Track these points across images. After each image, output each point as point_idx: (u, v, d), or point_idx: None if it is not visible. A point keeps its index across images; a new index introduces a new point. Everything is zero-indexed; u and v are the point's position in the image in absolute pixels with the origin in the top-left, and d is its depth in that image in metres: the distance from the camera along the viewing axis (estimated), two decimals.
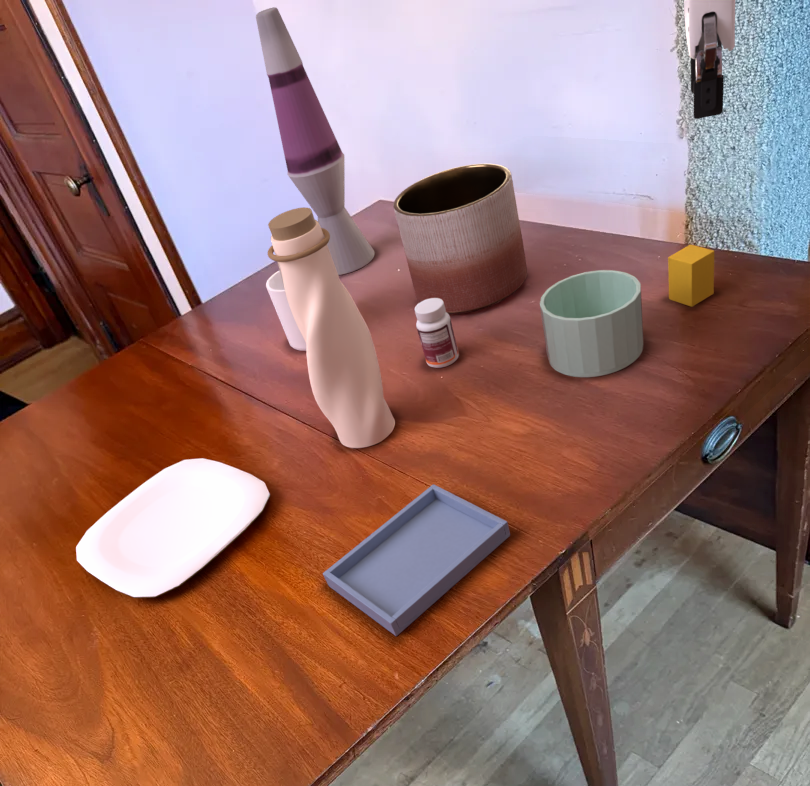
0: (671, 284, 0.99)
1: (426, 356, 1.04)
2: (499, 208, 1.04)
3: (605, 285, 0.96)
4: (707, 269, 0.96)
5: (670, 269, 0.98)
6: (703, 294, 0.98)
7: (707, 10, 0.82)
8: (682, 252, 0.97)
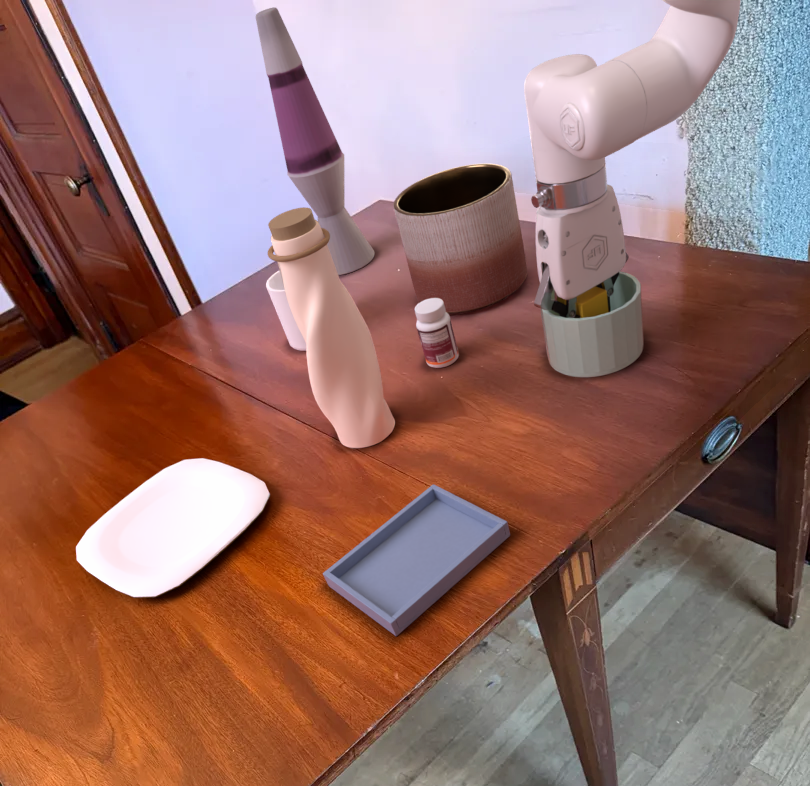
0: None
1: (426, 356, 1.04)
2: (499, 208, 1.04)
3: None
4: (600, 309, 0.92)
5: None
6: None
7: (543, 260, 0.86)
8: None
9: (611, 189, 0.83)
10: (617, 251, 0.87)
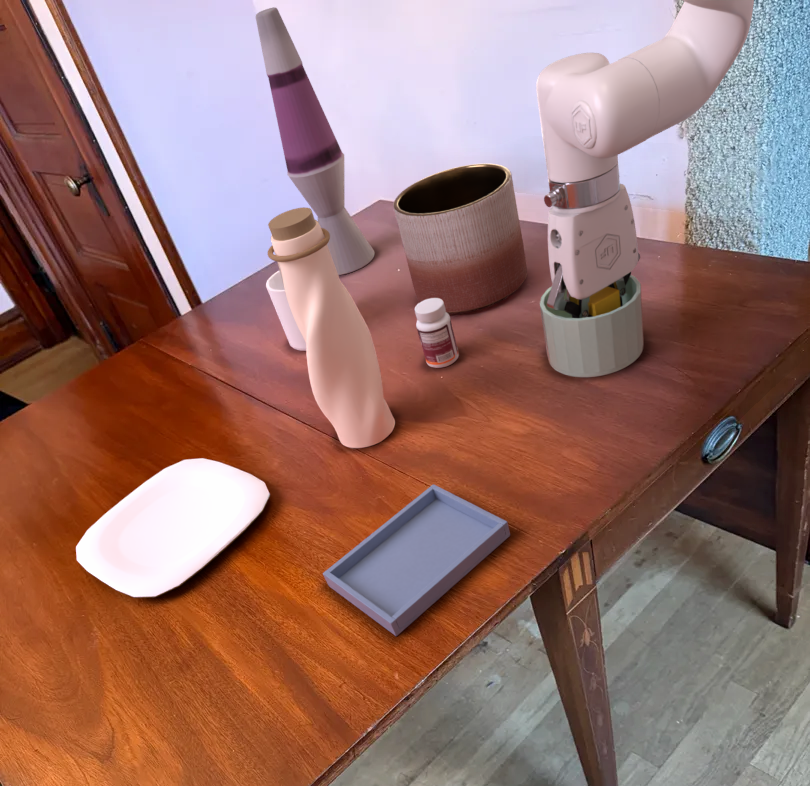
0: None
1: (426, 356, 1.04)
2: (499, 208, 1.04)
3: None
4: (613, 309, 0.91)
5: None
6: None
7: (556, 260, 0.86)
8: None
9: (623, 188, 0.83)
10: (630, 250, 0.87)
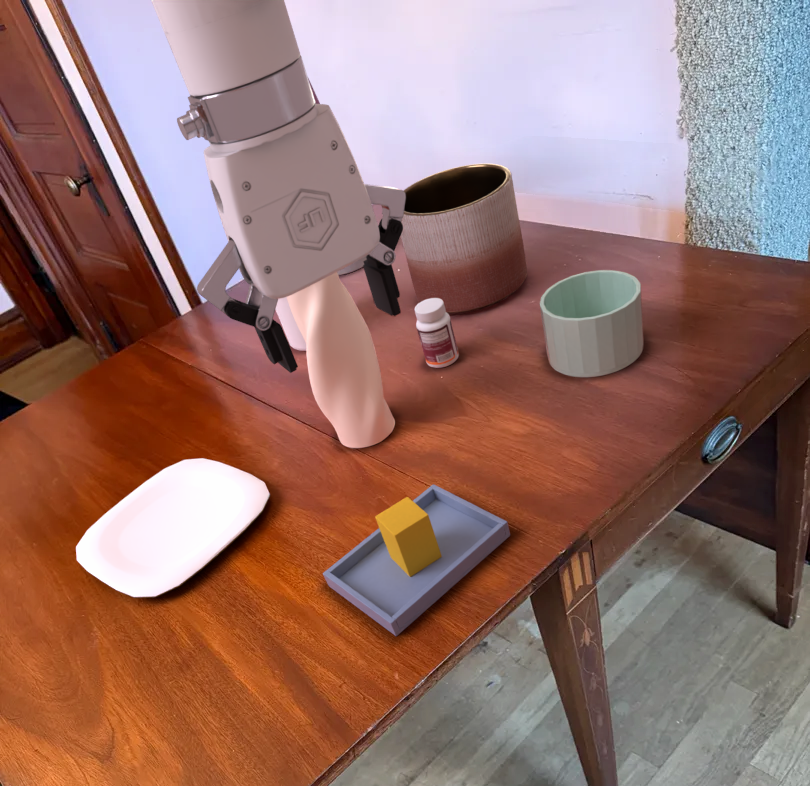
0: (387, 544, 0.76)
1: (426, 356, 1.04)
2: (499, 208, 1.04)
3: (605, 285, 0.96)
4: (423, 535, 0.73)
5: (380, 529, 0.75)
6: (425, 561, 0.75)
7: (228, 233, 0.52)
8: (392, 510, 0.74)
9: (325, 110, 0.49)
10: (357, 219, 0.53)
